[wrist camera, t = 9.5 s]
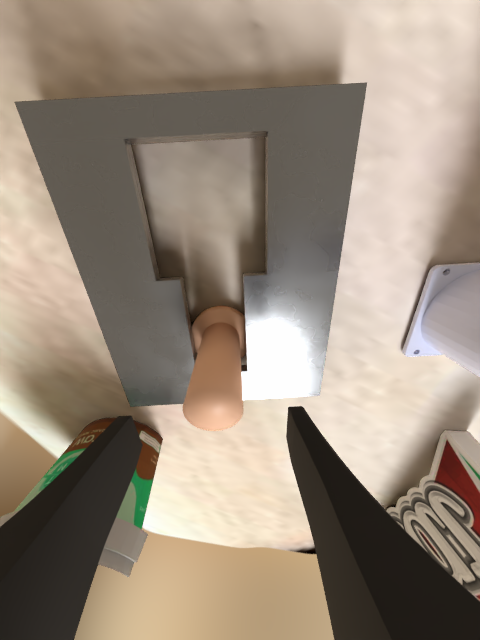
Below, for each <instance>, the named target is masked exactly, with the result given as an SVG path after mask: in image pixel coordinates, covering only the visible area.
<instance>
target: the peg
mask: <svg viewBox="0 0 480 640" xmlns="http://www.w3.org/2000/svg"><path fill="white" fill-rule="evenodd" d="M192 334H193V340H194V346H195V352H196V354H197V358H196V361H195V365H194V368H193V372H192V375H191V379H190V383H189V386H188V390H187V393H186V397H185V400H184V404H183V413H184V416H185V418H186V419H187V420H188V421H189V422H190V423H191V424H192V425H194V426H195V427H197V428H200V429H203V430H208V431H219V430H224V429H227V428H230V427H232V426H233V425H235V424H236V423H237V422H238V421H239V420H240V419H241V417H242V415H243V393H242V373H241V358H242V357H244V356H245V355H246V331H245V316H244V315H243V314H242V313H241V312H240V311H238V310H236V309H234V308H231V307H228V306H215V307H211V308H208V309H206V310H204V311H203V312H201V313H200V314H199V315H198V316H197V318H196V319H195V321H194V323H193V326H192Z"/></svg>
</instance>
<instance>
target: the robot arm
mask: <svg viewBox="0 0 480 640" xmlns="http://www.w3.org/2000/svg"><path fill="white" fill-rule="evenodd" d="M444 270H445V272H444ZM443 272H444V273H443ZM402 353H403V354H404V355H405V356H407V357H413V356H431V355H445V356H446V357H448V358H449V359H451V360H453V361H454V362H456V363H457V364H459V365H461V366H462V367H464V368H465V369H467V370H469V371H470V372H472V373H473V374H475V375H477V376H478V377H480V262H478V263H461V264H443V265H435V266H434V267H432V268H431V269H430V271H429V273H428V276H427V279H426V282H425V285H424V288H423V291H422V294H421V297H420V300H419V303H418V306H417V309H416V312H415V315H414V318H413V321H412V324H411V327H410V330H409V333H408V336H407V339H406V342H405V345H404V348H403V351H402ZM286 437H287V443H288V448H289V453H290V458H291V463H292V466H293V470H294V473H295V477H296V480H297V484H298V487H299V491H300V494H301V498H302V501H303V504H304V508H305V511H306V515H307V518H308V522H309V525H310V529H311V533H312V537H313V540H314V545H315V549H316V554H317V559H318V563H319V567H320V572H321V577H322V582H323V586H324V591H325V595H326V601H327V605H328V610H329V615H330V619H331V625H332V630H333V635H334V639H335V640H480V601H479V600H478V599H477V598H476V597H475V596H474V595H473V594H471V593H470V592H469V591H468V590H467V589H466V588H465V587H464V586H463V585H462V584H461V583H459V582H458V581H457V580H456V579H455V578H454V577H453V576H452V575H451V574H450V573H449V572H448V571H447V570H446V569H444V568H443V567H442V566H441V565H440V564H439V563H438V562H437V561H436V560H435V559H434V558H433V557H432V556H431V555H430V554H429V553H428V552H427V551H426V550H425V549H424V548H423V547H422V546H421V545H420V544H419V543H418V542H417V541H415V540H414V539H413V538H412V537H411V536H410V535H409V534H408V533H407V532H406V531H405V530H404V529H403V528H402V527H401V526H400V525H399V524H398V523H397V521H396V520H395V519H394V518H393V517H392V516H391V515H390V514H389V513H388V512H387V511H386V510H385V509H384V508H383V507H382V506H381V505H380V504H379V503H378V501H377V500H376V499H375V498H374V497H373V496H372V495H371V494H370V493H369V492H368V491H367V489H366V488H365V487H364V486H363V485H362V484H361V483H360V481H359V480H358V479H357V478H356V477H355V476H354V474H353V473H352V472H351V471H350V470H349V468H348V467H347V466H346V465H345V464H344V462H343V461H342V460H341V459H340V457H339V456H338V455H337V454H336V452H335V451H334V450H333V448H332V447H331V446H330V445H329V443H328V442H327V441H326V439H325V438H324V437H323V435H322V434H321V433H320V431H319V430H318V428H317V427H316V426H315V424H314V423H313V421H312V420H311V418H310V417H309V415H308V414H307V412H306V411H305V409H304V408H303V407H302V406H299V407H288V421H287V435H286ZM142 446H143V444H142V442H141V439H140V437H139V434H138V431H137V429H136V426H135V424H134V421H133V419H132V416H119V417H117V418H116V419H115V420H114V421H113V422H112V423H111V424H110V425H109V426H108V427H107V428H106V429H105V430H104V431H103V432H102V433H101V434H100V435H99V436H98V437H97V438H96V439H95V440H94V441H93V442H92V443H91V444H90V445H89V446H88V447H87V448H86V449H85V450H84V451H83V452H82V453H81V454H80V455H79V456H78V457H77V458H76V459H75V460H74V461H73V462H72V463H71V464H70V465H69V466H68V467H67V468H66V469H65V470H63V471H62V472H61V473H60V474H59V475H58V476H57V477H56V478H55V479H54V480H53V481H52V482H51V483H49V484H48V485H47V486H46V487H45V488H44V489H43V490H42V491H41V492H40V493H39V494H38V495H36V496H35V497H34V498H33V499H32V500H31V501H30V502H29V503H28V504H26V505H25V506H24V507H23V508H22V509H21V510H19V511H18V512H17V513H16V514H15V515H14V516H12V517H11V518H10V519H9V520H8V521H7V522H5V523H4V524H3V525H2V526H1V527H0V640H74V638H75V634H76V631H77V628H78V624H79V621H80V618H81V615H82V612H83V609H84V606H85V602H86V599H87V596H88V593H89V590H90V587H91V584H92V581H93V578H94V574H95V572H96V569H97V566H98V563H99V560H100V557H101V554H102V551H103V548H104V546H105V543H106V541H107V538H108V535H109V533H110V531H111V528H112V526H113V523H114V521H115V519H116V516H117V514H118V511H119V509H120V507H121V504H122V502H123V499H124V497H125V494H126V492H127V490H128V487H129V485H130V482H131V480H132V477H133V475H134V472H135V470H136V466H137V463H138V460H139V456H140V453H141V449H142Z"/></svg>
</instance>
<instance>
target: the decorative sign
mask: <svg viewBox="0 0 480 640" xmlns="http://www.w3.org/2000/svg"><path fill="white" fill-rule="evenodd" d="M386 511H387V512H388V513H389V514H390V515H391V516H392V517H393V518H394V519H395V520H396V521H397V523H398V524H399V525H400V526H401V527H402V528H403V529H404V530H405V531H406V532H407V533H408V534H409V535H410V536H411V537H412V538H413V539H414V540H415V541H417V542H418V543H419V544H420V545H421V546H422V547H423V548H424V549H425V550H426V551H427V552H428V553H429V554H430V555H431V556H432V557H433V558H434V559H435V560H436V561H437V562H438V563H439V564H440V565H441V566H442V567H443V568H444V569H446V570H447V571H448V572H449V573H450V574H451V575H452V576H453V577H454V578H455V579H456V580H457V581H458V582H459V583H461V584H462V585H463V586H464V587H465V588H466V589H467V590H468V591H469V592H470V593H471V594H473V595H474V596H475V597H476V598H477V599H478V600H479V601H480V443H478V441H477V440H476V439H475V438H474V437H473V436H472V435H471V434H470V433H469V432H468V431H450V430H444V431H443V433H442V434H441V435H440V439H439V442H438V446H437V450H436V453H435V457H434V460H433V464H432V467H431V471H430V474H429V475H427V476H424V477H423V478H422V479H421V480H420V484H419V487H413V488H410V489H409V490H408V492H407V496H402V497H400V498H399V499H398V501H397V505H396V507H389V508H388V509H387V510H386Z"/></svg>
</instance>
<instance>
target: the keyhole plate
mask: <svg viewBox="0 0 480 640" xmlns="http://www.w3.org/2000/svg"><path fill="white" fill-rule="evenodd" d="M366 86H367V83H351V84H333V85H315V86H296V87H278V88H260V89H241V90H223V91H205V92H186V93H168V94H150V95H131V96H113V97H95V98H76V99H58V100H40V101H21V102H15V104H16V107H17V110H18V112H19V115H20V118H21V120H22V123H23V125H24V128H25V131H26V133H27V136H28V139H29V141H30V144H31V146H32V149H33V152H34V154H35V157H36V160H37V162H38V165H39V167H40V170H41V173H42V175H43V178H44V181H45V183H46V186H47V189H48V191H49V194H50V196H51V199H52V202H53V204H54V207H55V210H56V212H57V215H58V217H59V220H60V223H61V225H62V228H63V231H64V233H65V236H66V238H67V241H68V244H69V246H70V249H71V252H72V254H73V257H74V259H75V262H76V265H77V267H78V270H79V273H80V275H81V278H82V280H83V283H84V286H85V288H86V291H87V294H88V296H89V299H90V301H91V304H92V307H93V309H94V312H95V315H96V317H97V320H98V323H99V325H100V328H101V330H102V333H103V336H104V338H105V341H106V344H107V346H108V349H109V351H110V354H111V357H112V359H113V362H114V365H115V367H116V370H117V372H118V375H119V378H120V380H121V383H122V386H123V388H124V391H125V393H126V396H127V399H128V401H129V404H130V407H134V406H151V405H169V404H184V400H185V397H186V393H187V390H188V386H189V383H190V379H191V375H192V372H193V368H194V365H195V361H196V352H195V346H194V340H193V334H192V328H191V323H190V317H189V311H188V305H187V299H186V293H185V287H184V281H183V277H171V278H160V275H159V271H158V266H157V261H156V257H155V252H154V248H153V243H152V238H151V234H150V229H149V225H148V220H147V215H146V211H145V206H144V202H143V197H142V192H141V188H140V183H139V179H138V174H137V169H136V165H135V160H134V156H133V151H132V146H131V145H132V144H150V143H168V142H186V141H205V140H223V139H241V138H259V137H266V243H265V272H259V273H243V287H244V309H245V331H246V353H247V365H241V373H242V393H243V400H254V399H271V398H288V397H305V396H320V390H321V384H322V377H323V370H324V364H325V357H326V351H327V344H328V337H329V331H330V324H331V317H332V311H333V304H334V298H335V291H336V284H337V278H338V271H339V265H340V258H341V251H342V245H343V238H344V231H345V225H346V218H347V212H348V205H349V198H350V192H351V185H352V179H353V172H354V165H355V159H356V152H357V145H358V139H359V132H360V126H361V119H362V112H363V106H364V99H365V93H366Z"/></svg>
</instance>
